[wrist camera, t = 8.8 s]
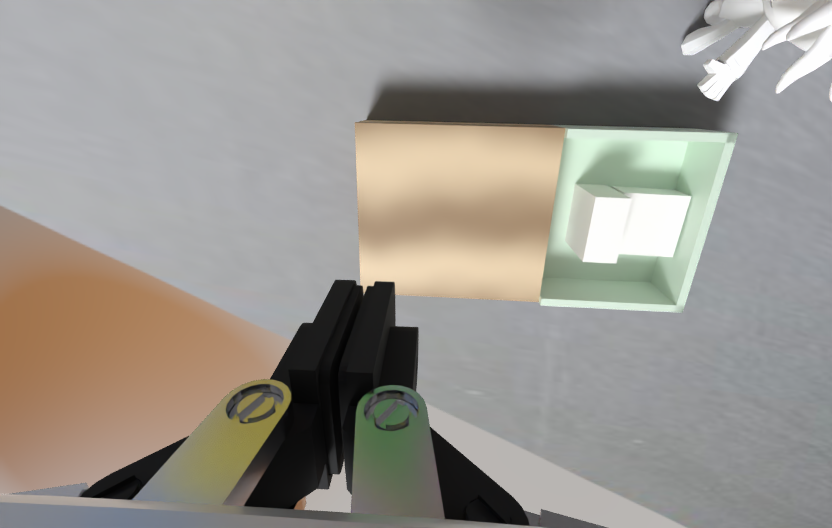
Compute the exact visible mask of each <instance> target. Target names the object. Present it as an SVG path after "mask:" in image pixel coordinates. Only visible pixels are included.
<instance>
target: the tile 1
mask: <svg viewBox="0 0 832 528" xmlns="http://www.w3.org/2000/svg"><path fill="white" fill-rule="evenodd" d="M631 199H632V198H630V197H628V196H626V195H624V194H622V193H620V192H618V191H616V190H615V189H613V188H611V187H609V186H607V185H597V184H575V186H574V192H573V197H572V203H571V209H570V214H569V220H568V225H567V231H566V237H565V242H566V243H567V244H568V245H569V246H570V247H571V249H572V250H573V251H574V252H575V253H576V255H577V256H578V257H579V258H580V259H581V260H582V262H595V263H615V264H616V263H617V259H618V254H619V250H620V246H621V242H622V237H623V233H624V229H625V225H626V220H627V216H628V212H629V208H630V203H631Z"/></svg>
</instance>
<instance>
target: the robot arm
mask: <svg viewBox="0 0 832 528" xmlns="http://www.w3.org/2000/svg"><path fill="white" fill-rule="evenodd" d="M417 369H418V327H398V326H395V282H384V281H375V283H374V286H367V289H366V291H365V294H364V295H363V286H359V285H357V284H356V281H355V280H335V282H334V283H333V285H332V287H331V289H330V291H329V293H328V295H327V297H326V299H325V301H324V303H323V304H322V306H321V308H320V310H319V312H318V314H317V316H316V318H315V320H314V322H313V323H302V325H301V326H300V327H299V329H298V331H297V333H296V334H295V336H294V338H293V340H292V341H291V343H290V345H289V347H288V348H287V350H286V352H285V354H284V356H283V357H282V359H281V361H280V362H279V364H278V366H277V368H276V370H275V371H274V373H273V375H272V376H271V378H270V380H269V379H263V380H256V381H251V382H248V383H245V384H243V385H241V386H239V387H237V388H235V389H234V390H232V391H231V392H230V393H229V394H227V395H226V396H225V397H224V398H223V399H222V400H221V402H220V403H219V404H218V405H217V406H216V407H215V408H214V409H213V411H211V413H210V414H209V415H208V416H207V417H206V418H205V419H204V421H202V423H201V424H200V425H199V426H198V427H197V428H196V429H195V431H194V432H193V433H192V434H191V435H190V436H188V437H186V438H183V439H181V440H179V441H177V442H176V443H173V444H171V445H169V446H167V447H165V448H163V449H161V450H159V451H157V452H155V453H153V454H151V455H148V456H146V457H144V458H142V459H140V460H138V461H137V462H134V463H132V464H130V465H128V466H126V467H124V468H122V469H120V470H118V471H116V472H113V473H112V474H110V475H108V476H106V477H105V478H103V479H101V480H99V481H98V482H96V483H95V484H94V485H92V486H91V487H90V488H89V487H88V485H87V483H81V484H74V485H67V486H60V487H54V488H47V489H40V490H34V491H26V492H19V493H12V494H0V528H607V527H603V526H600V525H596V524H593V523H589V522H585V521H581V520H578V519H574V518H571V517H567V516H564V515H560V514H557V513H553V512H550V511H546V510H542V509H541V512H540V515H537V514H534V513H530V512H527V511H524V510H523V508H522V507H521V506H520V504H519V503H518V502H517V501H516V500H515V499H514V498H513V497H512V496H511V495H510V494H509V493H507V492H506V491H505V490H504V489H503V488H502V487H500V486H499V485H498V484H497V483H496V482H495V481H493V480H492V479H491V478H490V477H489V476H487V475H486V474H485V473H484V472H483V471H482V470H480V469H479V468H478V467H477V466H476V465H474V464H473V463H472V462H471V461H470V460H469V459H467V458H466V457H465V456H464V455H463V454H461V453H460V452H459V451H458V450H457V449H456V448H454V447H453V446H452V445H451V444H450V443H449V442H447V441H446V440H445V439H444V438H442V437H441V436H440V435H439V434H438V433H437V432H436V431H434V430H433V429H432V428H431V427H430V425H429V419H428V413H427V407H426V404H425V402H424V399H423V398H422V397H421V396H420V395H419V394H418V393H417V392H416V386H417ZM344 461H345V472H346V482H347V490H348V491H349V492H350V493H351V495H352V500H351V513H343V512H328V511H312V510H304V509H305V506H306V496H307V495H308V494H310V493H311V492H313V491H314V490H316V489H329V486H330V483H331V479H332V475H333V474H340V472H341V469H342V466H343V462H344Z"/></svg>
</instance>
